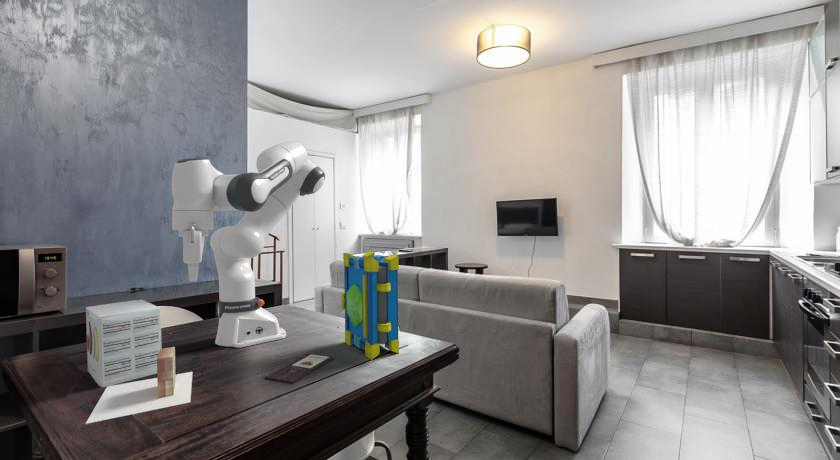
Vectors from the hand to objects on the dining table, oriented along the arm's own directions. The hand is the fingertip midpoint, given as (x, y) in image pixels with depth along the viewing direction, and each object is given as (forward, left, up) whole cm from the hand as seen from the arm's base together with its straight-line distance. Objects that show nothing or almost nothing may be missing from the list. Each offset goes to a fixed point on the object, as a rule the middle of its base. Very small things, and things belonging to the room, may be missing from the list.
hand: (193, 278), depth 96 cm
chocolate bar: (-25, +3, -27) cm, 37 cm away
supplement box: (+17, -18, -27) cm, 37 cm away
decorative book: (-48, -3, -27) cm, 55 cm away
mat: (+10, +2, -27) cm, 28 cm away
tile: (+6, +2, -26) cm, 27 cm away
